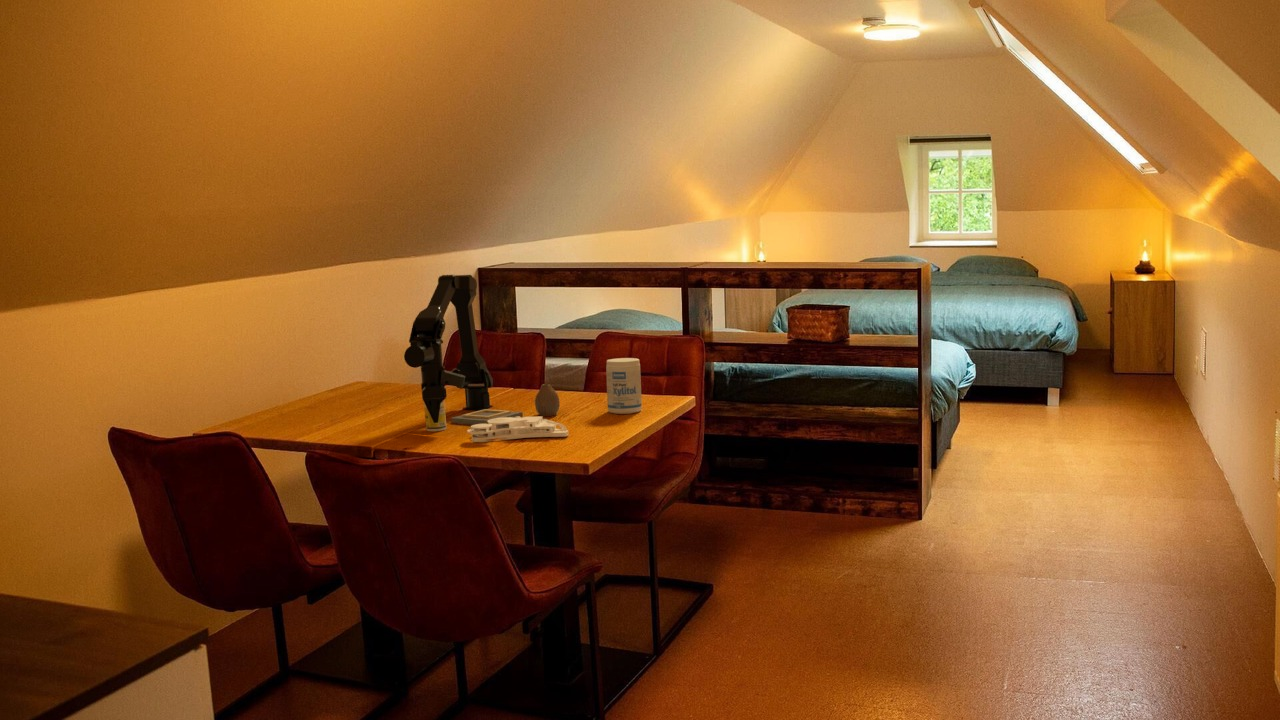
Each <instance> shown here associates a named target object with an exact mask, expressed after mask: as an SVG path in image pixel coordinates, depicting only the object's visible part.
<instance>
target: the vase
mask: <svg viewBox="0 0 1280 720" xmlns="http://www.w3.org/2000/svg"><path fill="white" fill-rule="evenodd" d="M559 397H560V396H559V395H558V393H557V391H556V390H555V389H554V388H553V386H552V385H551V384H549V383H545V384H544V383H543V384H541V386H540V389H539V391H537V393H536V395H535V399H534V407H535V411H536V413H537V414H538V415H539V416H543V417H554V416H556V415H557V413H558V412H559V410H560V403H561V401H560V398H559ZM553 415H554V416H553Z"/></svg>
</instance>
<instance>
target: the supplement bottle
mask: <svg viewBox="0 0 1280 720" xmlns="http://www.w3.org/2000/svg"><path fill="white" fill-rule="evenodd" d="M423 406H424V407H423V408H424V419H425V422H424V423H425V429H426V431H427V432H431V433H432V432H441V431H445V430H447V420H446V419H447V418H446V407H445V406H446V405H445V401H444V400H443V401H442V403H441V404H440V412H439V419H438V423H434V422H433V420H432V418H431V416H430V413H429V411H428V409H427V407H426V405H425V403H424V404H423Z"/></svg>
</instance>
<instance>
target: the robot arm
mask: <svg viewBox="0 0 1280 720" xmlns="http://www.w3.org/2000/svg"><path fill="white" fill-rule="evenodd" d="M477 286H478V283H477V279H476V278H475V277H473V275H471V274H442V275H439V276H438V279H437V286H436V287H435V290H434V292H433V294H432V297H431V299H430V301H429V303H428V305H427V307H426V308H424V309H422V310H421V311H419V313H418V314H417V315H416V317H415V318H414V320H413V323H412V327H411V330H410V331H411V332H410V335H409V336H410V337H409V340H408V343H410V346H408V347H407V348H406V350H405V352H404V354H403V358H404V362H405V363H406V364H407V366H408V367H411V368H413V369H414V368H419V367H420V372H421V373H420V376H421V383H420V387H421V396H422V397H421V399H422V401H423V403H424V404H425V405H426V407H427V409H428V411H429V413H430V416H431V418H432V420H433V422H434V423H438V419H439V412H440V404H441V403H442V401H443V402H444V400H446V399H447V396H448V395H447V389H446V385H450V386H453V387H456V388H457V389H460V390H463V389H464V394H465V406H463V407H462V410H468V411H469V410H471V411H480V410H484V409H489V408H493V407H494V405H492V404H490V392H489V389H490V388H493V385H494V384H493V382H494V378H493V377H492V375H491V373H490V371H489V368H487V365H486V364H487V363H486V360H485V359H484V357H483V356H482V355H481V354H480V353H479V349H478V341H477V333H476V332H477V331H476V326H475V318H474V311H473V310H474V309H473V303H474V301H475V298H476V296H477V288H478V287H477ZM450 303H451V304H452V305H453V306H454V308H455V315H456V322H457V330H458V336H459V343H460V344H459V345H460V351H461V352H460V353H461V357H460V359H459V361H458V363H456V364H457V365H456V368H453V369H452V370H451V371H450V370H446V369H445V366H444V365H443V352H442V349H443V348H442V344H444V341H443V339H442V338H443V334H444V332H445V330H446V321H445V318H444V317H445V315H446V312H447V310H448V308H449V305H450Z"/></svg>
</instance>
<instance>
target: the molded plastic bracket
mask: <svg viewBox="0 0 1280 720" xmlns="http://www.w3.org/2000/svg"><path fill="white" fill-rule="evenodd" d="M543 417H544V416H540V415H539V416H538V415H537V416H523V417H520V416H517V417H515V418H513V417H500V418H495V419H490V420H488V421H487V422H488V424H485V423H483V424H475V425H470V428H469V429H467V430H466V433H467V434H471V441H472V442H474V443H485V442H495V441H496V442H497V441H507V440H516V439H524V438H549V437H550V438H554V437H555V438H556V437H557V438H559V437H568V436H569V430H568V429H567V427H566V425H564V424H562V423H560V422H555V421H553V420H548V418H543ZM557 426H558V427H560V428H561V429H560V428H556V427H557ZM497 439H498V440H497Z"/></svg>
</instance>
